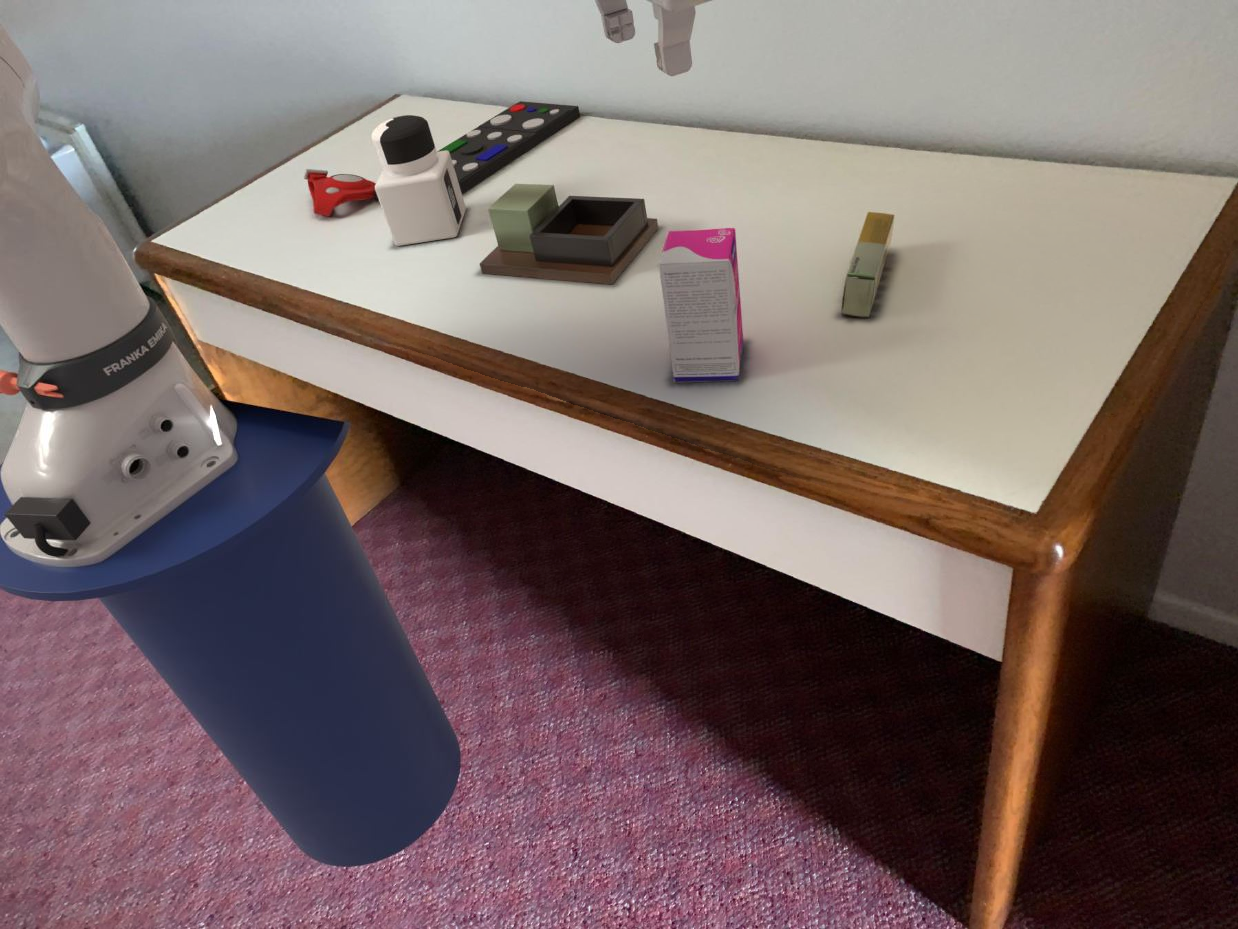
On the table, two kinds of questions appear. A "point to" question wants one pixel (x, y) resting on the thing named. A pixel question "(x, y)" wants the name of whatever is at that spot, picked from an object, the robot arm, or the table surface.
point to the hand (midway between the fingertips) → (646, 54)
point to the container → (416, 183)
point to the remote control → (505, 139)
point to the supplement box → (702, 304)
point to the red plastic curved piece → (336, 189)
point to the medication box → (867, 265)
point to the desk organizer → (565, 235)
